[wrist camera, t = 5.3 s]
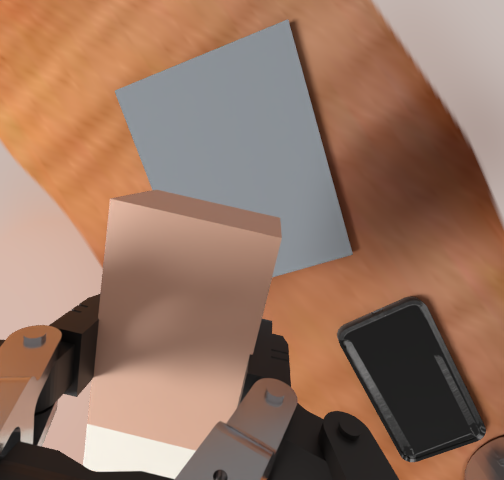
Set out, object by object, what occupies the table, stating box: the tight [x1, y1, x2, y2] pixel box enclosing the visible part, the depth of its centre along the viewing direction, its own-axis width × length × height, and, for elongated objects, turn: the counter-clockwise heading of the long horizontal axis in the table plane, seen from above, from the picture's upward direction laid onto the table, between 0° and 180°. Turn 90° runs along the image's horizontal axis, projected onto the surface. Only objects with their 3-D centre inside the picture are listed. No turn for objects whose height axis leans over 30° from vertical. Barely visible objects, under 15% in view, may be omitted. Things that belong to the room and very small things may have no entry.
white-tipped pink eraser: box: [83, 190, 282, 479], centre depth 12 cm, size 10×5×4 cm, turn 167°
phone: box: [337, 297, 486, 462], centre depth 27 cm, size 8×1×15 cm
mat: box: [115, 20, 353, 277], centre depth 25 cm, size 18×14×1 cm
